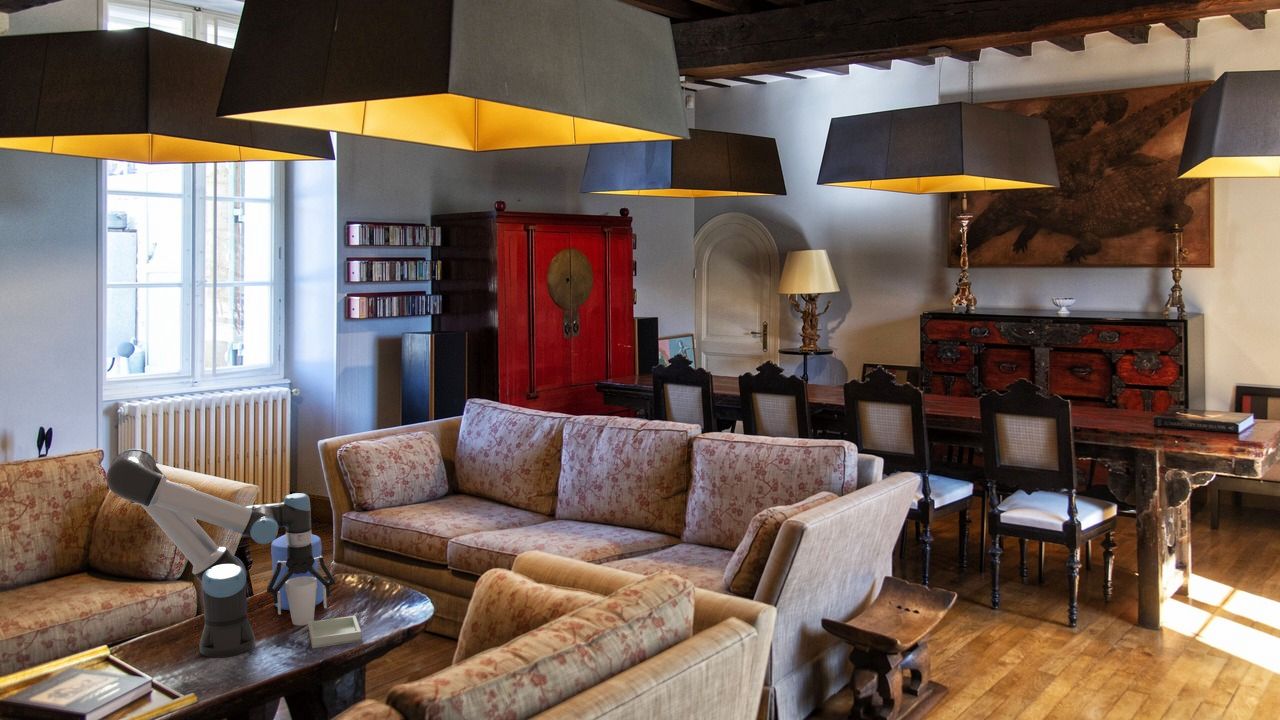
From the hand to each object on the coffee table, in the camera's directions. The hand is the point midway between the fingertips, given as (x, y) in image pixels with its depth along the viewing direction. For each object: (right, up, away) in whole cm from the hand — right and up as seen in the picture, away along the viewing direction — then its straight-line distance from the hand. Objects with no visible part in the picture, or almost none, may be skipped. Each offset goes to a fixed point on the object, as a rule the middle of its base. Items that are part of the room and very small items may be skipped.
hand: (302, 609), depth 331 cm
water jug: (-7, -2, +17) cm, 18 cm away
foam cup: (0, -4, 0) cm, 4 cm away
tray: (+13, -5, -11) cm, 18 cm away
